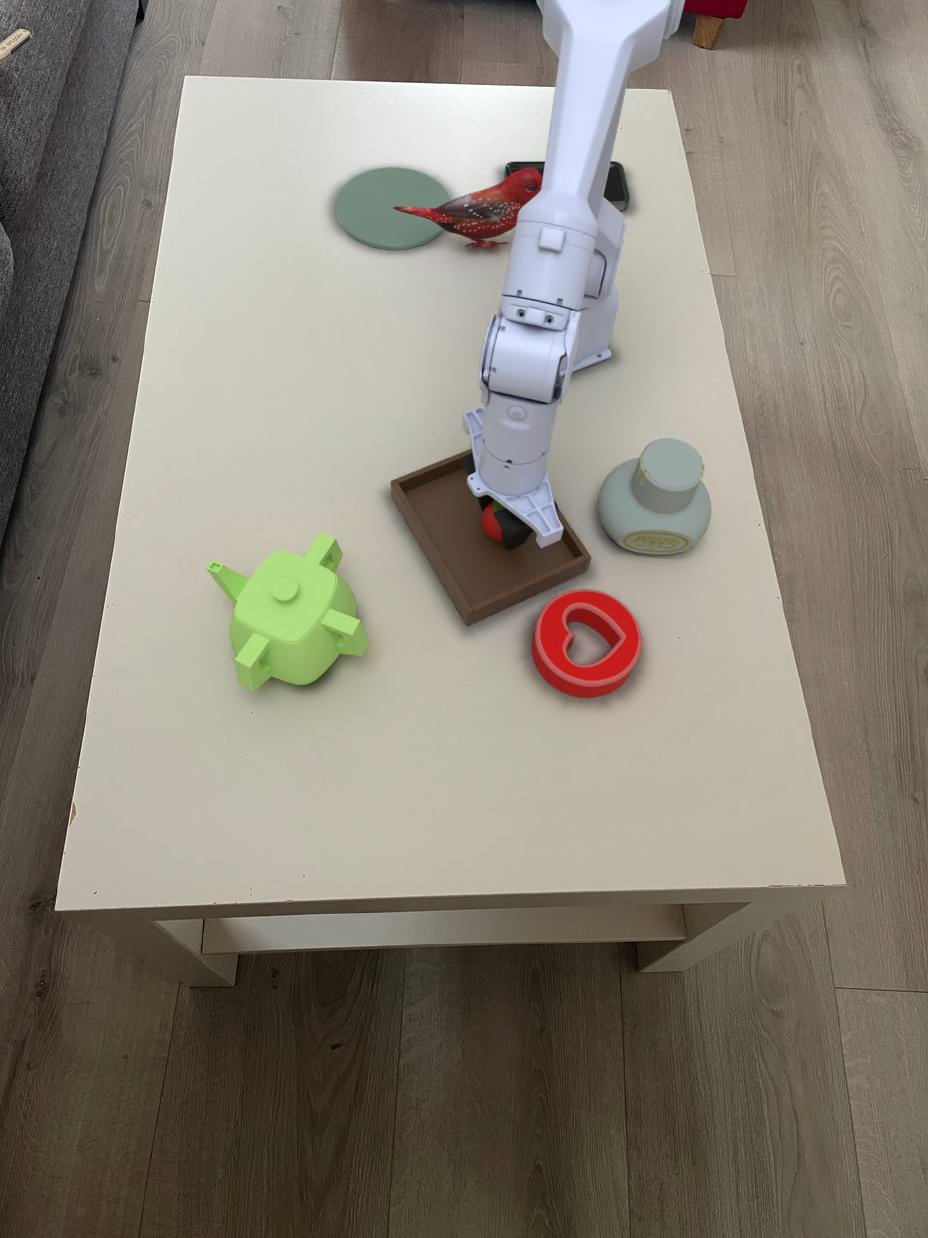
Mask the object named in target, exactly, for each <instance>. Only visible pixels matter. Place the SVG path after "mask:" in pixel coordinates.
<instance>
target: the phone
mask: <svg viewBox="0 0 928 1238" xmlns="http://www.w3.org/2000/svg"><path fill="white" fill-rule="evenodd" d="M544 166H545V160H543V161H542V160H541V161H540V160H539V161H521V160H519V161H509V162H507V163H506V164H505V167H504V180H505V179H506V178H507V177H508V176H510V175H511V174H512V173H514V172H517V171H519V170H522V169H524V168H535V169H536V170H538V172H539V173H540V174H541V176H542V179H543V173H544ZM624 168H625V167H624V165H623V164H622V163H621V162H619V161H614V160H613V161H612V160H611V162H610V167H609V171H608V176H607V181H606V186H605V190H604V195H603V197H604V198H605V199H606V200H608V201H609V202H610V203H611V204H612V205H613V206H614V207H615V208H616V209H618V210H619V211H620V212H621V211H624V210H626V209H628V207H629V202H630V200H631V196H630V191H629V186H628V182H627V178H626V173H625V169H624Z"/></svg>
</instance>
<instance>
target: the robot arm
mask: <svg viewBox="0 0 928 1238" xmlns="http://www.w3.org/2000/svg"><path fill="white" fill-rule="evenodd" d="M535 1H536V5H537V6H538V8H539V10H540V13H541V16H542V35H543V39H544V40H545V42H546V43H547V45H548V46H549V47H550V48H551V50H552V51H553V52H554V53H555V55H556V56H557V57H558V63H557V64H558V65H557V73H556V79H555V86H554V94H553V101H552V108H551V116H550V122H549V130H548V138H547V144H546V151H545V157H544V161H545V166H544V173H543V180H542V187H541V191H540V192H539V193H538V194H537V195H536V196H535V197H534V198H532V199H531V200H530V201H529V202H528V203H527V204H525V205H524V206H523V207H522V208H521V209H520V211H519V213H518V219H517V223H516V227H514V233H513V236H512V237H513V238H512V241H511V242H512V243H511V247H510V252H509V257H508V262H507V265H506V266H507V267H506V272H505V277H504V281H503V286H502V290H501V297H500V301H499V304H498V305H499V306H498V310H497V315H498V316H497V315H496V314H495V313H494V314H492V315H491V318H490V319H489V323H488V324H487V327H486V330H485V334H484V339H483V343H482V347H481V352H480V359H479V365H478V366H479V368H478V375H479V376H478V379H479V380H478V381H479V383H478V386H479V390H480V391H481V394H480V403H482V404H483V405H484V406H482V405H480V406H477V407H475V408H473V409H470V410H467V411H465V412H463V413H462V419H461V421H462V422H461V427H462V429H463V431H464V433H466V434H467V435H469V441H470V448H472V453H470V454H468V455H466V456H465V457H463V459H462V467H463V468H464V470H465V471H466V473H467V475H468V478H467V484H468V486H469V488H470V489H471V491H472V492H473V494H474V495H475V496H477V498H478V502H479V505H480V508H481V510H482V512H484V510H485V508H486V507H487V505H488V504H489V503H490V502H492V501H493V500H496V501H497V502H499V503H500V504H501V505H503V506H504V507H505V508H504V509H501V510H499V511H497V512H494V514H493V516H494V517H495V519H496V520H497V522H498V523H499V525H500V527H501V529H502V542H503V545H504V546H505V548H506V550H508V551H509V550H511V549H513V548H515V547H518V546H520V545H522V544H524V543H525V542H526V540H527V539H528V538H529V536H530V535H531V534H532V532H533V531H535V532H536V533H537V537H536V541H537V543H538V545H539V546H540V548H543V547H545V546H548V545H550V544H553V543H555V542H557V541H559V540H561V536H562V533H563V529H564V527H563V526H562V524H561V522H560V520H559V518H558V516H557V513H558V508H559V505H558V503H557V501H556V499H554V495H553V490H552V486H551V482H550V478H549V477H550V476H549V473H548V468H547V462H548V458H549V453H550V449H551V444H552V440H553V434H554V430H555V424H556V420H557V416H558V411H559V407H560V405H562V403H563V400H564V399H565V397H566V395H567V392H568V389H569V385H570V381H571V377H572V374H573V373H574V372H577V371H579V370H583V369H584V368H587V367H590V366H593V365H595V364H597V363H601V362H602V361H605V360H608V359H610V358H611V357H612V351H611V350H610V349H609V344H610V341H611V337H612V334H613V330H614V326H615V322H616V319H617V314H618V312H619V311H618V310H619V295H618V290H617V285H616V283H615V280H616V279H615V278H616V274H617V270H618V268H619V267H618V266H619V262H620V259H621V255H622V251H623V245H624V241H625V239H624V236H625V232H626V227H627V224H626V223H625V220H626V217H625V215H624V214H623V212H621V211H619V210H618V209H616V208H615V207H614V206H613V205H612V204H611V203H610V202H609V201H608V200H606V199H605V198H604V197H603V195H604V190H605V186H606V181H607V176H608V171H609V167H610V162H611V161H612V157H613V152H614V147H615V143H616V139H617V138H616V137H617V133H618V128H619V124H620V119H621V114H622V109H623V105H624V100H625V96H626V90H627V86H628V82H629V77H630V74H632V73H633V72H635V71H638V70H639V69H641V68H643V67H644V66H646V65H649V64H650V63H652V62H654V61H655V60H656V59H658V57H659V54H660V49H661V46H662V41H663V39H664V40H668V39H670V37H671V36H672V35H673V34H675V33H677V31H678V29H679V27H680V22H681V18H682V15H683V10H684V6H685V4H686V3H685V2H686V0H535ZM562 377H564V379H563V381H562Z"/></svg>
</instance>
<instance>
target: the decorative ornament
mask: <svg viewBox="0 0 928 1238" xmlns="http://www.w3.org/2000/svg"><path fill="white" fill-rule="evenodd" d="M573 622H574V623H575V622H577V623H581V624H584V625H587V626H588V627H590V628H591V629H593V630H594V631H595V632H597V633H598V634H600V635H601V637H603V638H604V640H605V641H606V642H607V643H608V644H609V646H610V647H611V650H610V651H608V653H606V654H605V655H604V656H603V657H601V659H599V660H597V661H595V662H593V663H589V664H580V663H576V662H574V661H573V660H572V659H571V658H570V657H569V655H568V652H567V651H569V650H571V647H572V645H573V642H574V640H575V637H576V635H574V634H573V632H572V631H571V630H570V629H569V627H568V624H569V623H573ZM533 630H534V631H533V635H532V639H531V656H532V659H533V662H534V665H535V667H536V669H537V671H538V673H539V674H540V676H541V677H542V678H543V679H544V680H545V682H547V684H549V685H550V686H552V687H553V689H556V690H558V691H559V692H561V693H563V694H566V695H568V696H571V697H575V698H580V699H581V698H582V699H591V698H592V699H593V698H597V697H602V696H605V695H609V694H610V693H612V692H614V691H617V689H619V688H620V687H621V686H622V685H624V683H625V682H626V681H627V679H628V678H629V676H630V675H631V673H632V671H633V670H634V667H635V666H636V664H637V662H638V660H639V659H640V655H641V653H642V647H643V637H642V632H641V629H640V625H639V622H638V621H637V619H636V617H635V616H634V614H633V612H632V611H631V610H630V609H629V607H627V605H625V604H624V603H623V602H622V601H620V600H619V599H617V598H616V597H615V596H612V595H611V594H609V593H606V592H605V591H600V590H596V589H587V588H586V589H573V590H569V591H565V592H563V593H560V594H558V595H557V596H555V597H553V598H552V599H551V600H549V601H548V602H547V603H546V604H545V605H544V606H543V608H542V609H541V611H540V613H539V615H538V617H537V620H536V624H535V627H534V629H533Z"/></svg>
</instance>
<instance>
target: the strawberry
mask: <svg viewBox="0 0 928 1238" xmlns="http://www.w3.org/2000/svg"><path fill="white" fill-rule="evenodd" d="M504 508H505V507H504V506H503V505H501V504H500V503H499V502H497V501H496V500H493V501H492V502H490V503H489V504H488V505H487V507H486V508H485V510H484V512H483V516H482V524H483V528H484V530H485V532H486V533H487V535H488V536H489V537H491V538H492V539H494V540H496V541H499V542H502V529H501V527H500V525H499V523H498V522H497V520H496V519H495V517H494V516H493V514H494V512H497V511H499V510H501V509H504Z"/></svg>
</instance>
